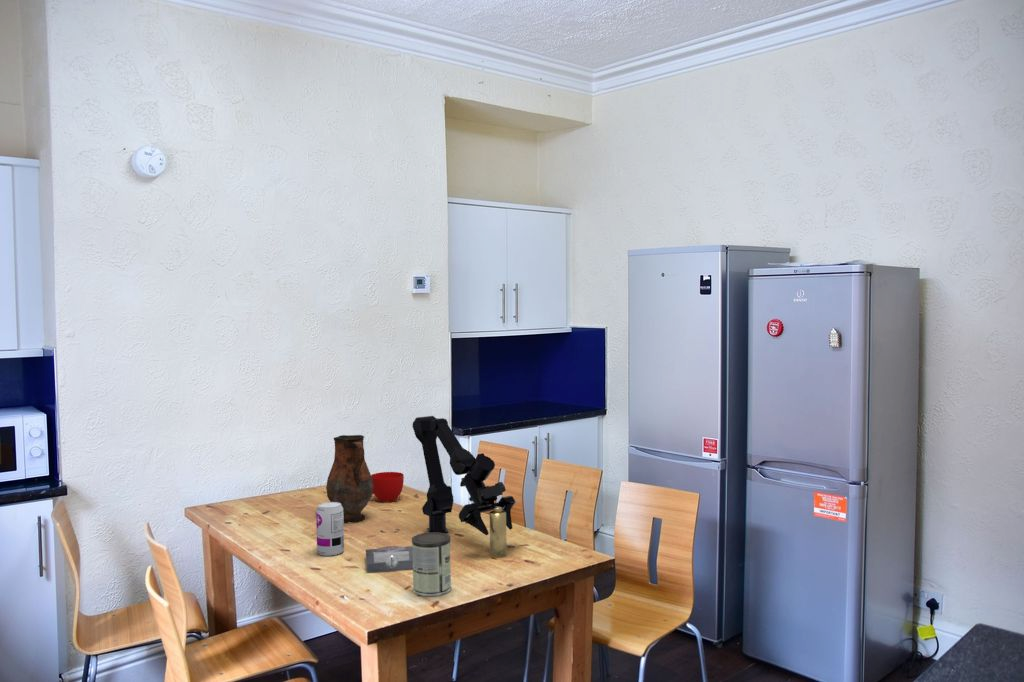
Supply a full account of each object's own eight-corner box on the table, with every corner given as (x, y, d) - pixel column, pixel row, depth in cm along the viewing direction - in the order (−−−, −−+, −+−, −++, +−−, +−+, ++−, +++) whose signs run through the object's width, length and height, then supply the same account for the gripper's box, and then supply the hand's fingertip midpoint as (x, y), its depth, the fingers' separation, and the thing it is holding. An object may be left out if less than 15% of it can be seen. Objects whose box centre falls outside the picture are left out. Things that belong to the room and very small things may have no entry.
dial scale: (365, 557, 236) (365, 543, 236) (412, 554, 239) (412, 539, 239) (367, 573, 222) (366, 557, 222) (416, 569, 225) (416, 553, 225)
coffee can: (414, 583, 214) (413, 532, 213) (452, 582, 214) (451, 531, 213) (410, 597, 203) (409, 543, 203) (450, 596, 204) (449, 542, 203)
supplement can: (317, 557, 237) (316, 508, 236) (316, 549, 245) (315, 502, 244) (344, 555, 239) (343, 506, 239) (343, 547, 247) (342, 500, 246)
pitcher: (363, 510, 293) (362, 431, 292) (385, 523, 275) (383, 438, 274) (320, 517, 284) (318, 435, 283) (339, 530, 266) (338, 443, 265)
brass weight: (488, 553, 240) (488, 505, 239) (504, 551, 241) (504, 504, 240) (491, 557, 235) (491, 509, 234) (508, 556, 236) (507, 508, 235)
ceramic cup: (359, 498, 312) (358, 473, 312) (401, 495, 317) (400, 470, 317) (362, 506, 300) (362, 480, 299) (406, 502, 305) (406, 477, 304)
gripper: (463, 478, 235) (486, 522, 226) (511, 470, 246) (534, 511, 238) (448, 500, 241) (470, 543, 233) (496, 490, 253) (518, 531, 245)
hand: (499, 531), depth 237 cm, fingers open, 9 cm apart
